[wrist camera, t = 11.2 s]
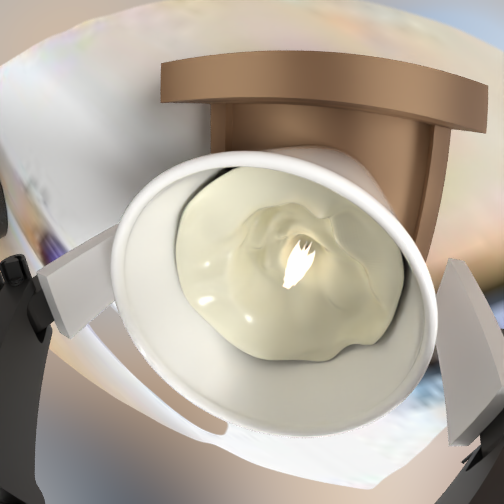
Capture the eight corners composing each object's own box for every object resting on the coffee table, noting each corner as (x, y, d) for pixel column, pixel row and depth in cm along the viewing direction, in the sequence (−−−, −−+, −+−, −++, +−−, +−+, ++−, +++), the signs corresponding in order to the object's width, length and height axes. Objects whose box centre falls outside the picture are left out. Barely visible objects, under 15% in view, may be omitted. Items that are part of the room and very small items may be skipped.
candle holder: (424, 229, 16) (483, 380, 5) (307, 304, 21) (249, 451, 11) (323, 99, 15) (246, 52, 5) (215, 200, 20) (78, 289, 10)
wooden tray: (226, 295, 24) (184, 349, 19) (225, 76, 17) (161, 63, 11) (394, 329, 20) (395, 400, 14) (443, 97, 13) (488, 85, 7)
